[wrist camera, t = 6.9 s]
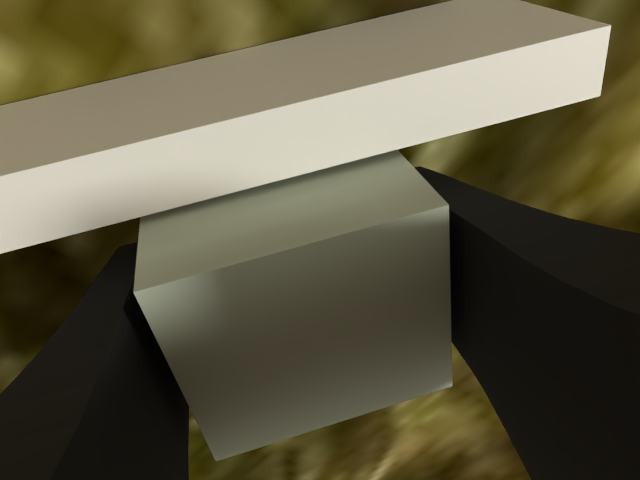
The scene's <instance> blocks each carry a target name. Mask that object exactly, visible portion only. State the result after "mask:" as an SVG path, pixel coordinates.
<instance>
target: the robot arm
mask: <svg viewBox="0 0 640 480" xmlns="http://www.w3.org/2000/svg"><path fill="white" fill-rule="evenodd" d="M415 169H416V170H417V171H418V172H419V173H420V175H421V176H422V177H423V178H424V179H425V180H426V181H427V182H428V183H429V184H430V185H431V186H432V187H433V188H434V189H435V191H436V192H437V193H438V194H439V195H440V196H441V197H442V198H443V199H444V200H445V201H446V202H447V203H448V204H449V235H450V289H451V341H452V343H453V344H454V346H455V347H456V348H457V350H458V351H459V353H460V354H461V356H462V357H463V358H464V360H465V361H466V363H467V364H468V366H469V367H470V369H471V370H472V372H473V373H474V375H475V376H476V378H477V380H478V381H479V383H480V384H481V386H482V387H483V389H484V391H485V393H486V395H487V396H488V398H489V400H490V402H491V404H492V406H493V407H494V409H495V411H496V413H497V415H498V417H499V418H500V420H501V422H502V424H503V426H504V428H505V429H506V431H507V433H508V435H509V437H510V439H511V441H512V443H513V445H514V447H515V449H516V450H517V452H518V454H519V456H520V458H521V460H522V462H523V464H524V466H525V468H526V470H527V472H528V474H529V475H530V477H531V479H532V480H640V234H639V233H633V232H628V231H623V230H617V229H612V228H608V227H603V226H599V225H595V224H591V223H586V222H582V221H578V220H574V219H570V218H566V217H562V216H559V215H555V214H552V213H548V212H545V211H542V210H539V209H536V208H532V207H529V206H526V205H523V204H520V203H517V202H514V201H511V200H508V199H505V198H503V197H500V196H497V195H494V194H492V193H489V192H487V191H484V190H481V189H479V188H476V187H474V186H471V185H468V184H466V183H463V182H461V181H458V180H456V179H453V178H451V177H448V176H446V175H443V174H440V173H438V172H435V171H432V170H429V169H426V168H423V167H415ZM137 247H138V242H135V243H132V244H128V245H124V246H120V247H119V248H118V249H117V251H116V252H115V253H114V254H113V256H112V257H111V258H110V260H109V261H108V262H107V264H106V265H105V267H104V268H103V269H102V271H101V272H100V274H99V275H98V277H97V278H96V279H95V281H94V282H93V284H92V285H91V286H90V288H89V289H88V290H87V292H86V293H85V294H84V296H83V297H82V299H81V300H80V301H79V303H78V304H77V305H76V307H75V308H74V309H73V311H72V312H71V313H70V315H69V316H68V317H67V319H66V320H65V321H64V322H63V323H62V325H61V326H60V327H59V328H58V330H57V331H56V332H55V333H54V334H53V336H52V337H51V338H50V339H49V341H48V342H47V343H46V344H45V345H44V347H43V348H42V349H41V350H40V352H39V353H38V354H37V355H36V356H35V358H34V359H33V360H32V361H31V362H30V363H29V364H28V365H27V367H26V368H25V369H24V370H23V371H22V372H21V373H20V374H19V375H18V376H17V377H16V379H15V380H14V381H13V382H12V383H11V384H10V385H9V386H8V387H7V388H6V389H5V390H4V391H3V392H2V393H1V394H0V480H189V475H188V434H189V405H188V403H187V401H186V399H185V397H184V395H183V393H182V391H181V389H180V387H179V385H178V383H177V381H176V379H175V377H174V375H173V373H172V371H171V368H170V366H169V364H168V362H167V360H166V358H165V356H164V354H163V352H162V350H161V348H160V346H159V344H158V342H157V340H156V338H155V336H154V334H153V332H152V330H151V328H150V326H149V323H148V321H147V319H146V317H145V315H144V313H143V311H142V309H141V307H140V305H139V303H138V301H137V299H136V297H135V295H134V293H133V290H134V279H135V269H136V258H137Z"/></svg>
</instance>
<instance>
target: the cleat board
mask: <svg viewBox="0 0 640 480" xmlns="http://www.w3.org/2000/svg"><path fill="white" fill-rule="evenodd" d="M610 30H611V25H609V24H605V23H601V22H598V21H594V20H590V19H587V18H583V17H579V16H575V15H572V14H568V13H564V12H561V11H557V10H553V9H550V8H546V7H542V6H538V5H535V4H531V3H527V2H524V1H520V0H451V1H447V2H443V3H438V4H434V5H430V6H425V7H421V8H417V9H412V10H408V11H404V12H400V13H395V14H391V15H387V16H382V17H378V18H374V19H370V20H365V21H361V22H357V23H352V24H348V25H344V26H340V27H335V28H331V29H327V30H322V31H318V32H314V33H310V34H305V35H301V36H297V37H292V38H288V39H284V40H280V41H275V42H271V43H267V44H262V45H258V46H254V47H250V48H245V49H241V50H237V51H232V52H228V53H224V54H220V55H215V56H211V57H207V58H202V59H198V60H194V61H189V62H185V63H181V64H177V65H172V66H168V67H164V68H159V69H155V70H151V71H147V72H142V73H138V74H134V75H129V76H125V77H121V78H117V79H112V80H108V81H104V82H99V83H95V84H91V85H87V86H82V87H78V88H74V89H69V90H65V91H61V92H57V93H52V94H48V95H44V96H39V97H35V98H31V99H27V100H22V101H18V102H14V103H9V104H5V105H1V106H0V254H1V253H5V252H9V251H13V250H17V249H20V248H24V247H28V246H32V245H36V244H39V243H43V242H47V241H51V240H55V239H58V238H62V237H66V236H70V235H74V234H77V233H81V232H85V231H89V230H93V229H97V228H100V227H104V226H108V225H112V224H116V223H119V222H123V221H127V220H131V219H135V218H138V217H142V216H146V215H150V214H154V213H157V212H161V211H165V210H169V209H173V208H176V207H180V206H184V205H188V204H192V203H195V202H199V201H203V200H207V199H211V198H214V197H218V196H222V195H226V194H230V193H233V192H237V191H241V190H245V189H249V188H253V187H256V186H260V185H264V184H268V183H272V182H275V181H279V180H283V179H287V178H291V177H294V176H298V175H302V174H306V173H310V172H313V171H317V170H321V169H325V168H329V167H332V166H336V165H340V164H344V163H348V162H351V161H355V160H359V159H363V158H367V157H370V156H374V155H378V154H382V153H386V152H389V151H393V150H397V149H401V148H405V147H409V146H412V145H416V144H420V143H424V142H428V141H431V140H435V139H439V138H443V137H447V136H450V135H454V134H458V133H462V132H466V131H469V130H473V129H477V128H481V127H485V126H488V125H492V124H496V123H500V122H504V121H507V120H511V119H515V118H519V117H523V116H526V115H530V114H534V113H538V112H542V111H545V110H549V109H553V108H557V107H561V106H564V105H568V104H572V103H576V102H580V101H584V100H587V99H591V98H595V97H599V96H600V94H601V88H602V81H603V75H604V69H605V62H606V56H607V49H608V43H609V36H610Z"/></svg>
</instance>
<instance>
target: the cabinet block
mask: <svg viewBox="0 0 640 480" xmlns="http://www.w3.org/2000/svg"><path fill="white" fill-rule="evenodd" d="M133 293H134V295H135V297H136V299H137V301H138V303H139V305H140V307H141V309H142V311H143V313H144V315H145V317H146V319H147V321H148V323H149V326H150V328H151V330H152V332H153V334H154V336H155V338H156V340H157V342H158V344H159V346H160V348H161V350H162V352H163V354H164V356H165V358H166V360H167V362H168V364H169V366H170V368H171V371H172V373H173V375H174V377H175V379H176V381H177V383H178V385H179V387H180V389H181V391H182V393H183V395H184V397H185V399H186V401H187V403H188V405H189V407H190V409H191V411H192V413H193V415H194V418H195V420H196V422H197V424H198V426H199V428H200V430H201V432H202V434H203V436H204V438H205V440H206V442H207V444H208V446H209V448H210V450H211V452H212V454H213V456H214V458H215V460H216V461H219V460H222V459H225V458H228V457H231V456H235V455H238V454H241V453H244V452H247V451H250V450H253V449H256V448H260V447H263V446H266V445H269V444H272V443H275V442H278V441H282V440H285V439H288V438H291V437H294V436H297V435H300V434H303V433H307V432H310V431H313V430H316V429H319V428H322V427H325V426H329V425H332V424H335V423H338V422H341V421H344V420H347V419H351V418H354V417H357V416H360V415H363V414H366V413H369V412H372V411H376V410H379V409H382V408H385V407H388V406H391V405H394V404H398V403H401V402H404V401H407V400H410V399H413V398H416V397H420V396H423V395H426V394H429V393H432V392H435V391H438V390H441V389H445V388H448V387H451V386H452V343H451V289H450V235H449V204H448V203H447V202H446V201H445V200H444V199H443V198H442V197H441V196H440V195H439V194H438V193H437V192H436V191H435V189H434V188H433V187H432V186H431V185H430V184H429V183H428V182H427V181H426V180H425V179H424V178H423V177H422V176H421V175H420V173H419V172H418V171H417V170H416V169H415V168H414V167H413V166H412V165H411V164H410V163H409V162H408V161H407V160H406V159H405V158H404V156H403V155H402V154H401V153H400V152H399V151H398V150H393V151H389V152H386V153H382V154H378V155H374V156H370V157H367V158H363V159H359V160H355V161H351V162H348V163H344V164H340V165H336V166H332V167H329V168H325V169H321V170H317V171H313V172H310V173H306V174H302V175H298V176H294V177H291V178H287V179H283V180H279V181H275V182H272V183H268V184H264V185H260V186H256V187H253V188H249V189H245V190H241V191H237V192H233V193H230V194H226V195H222V196H218V197H214V198H211V199H207V200H203V201H199V202H195V203H192V204H188V205H184V206H180V207H176V208H173V209H169V210H165V211H161V212H157V213H154V214H150V215H146V216H142V217H140V226H139V237H138V247H137V258H136V269H135V279H134V290H133Z"/></svg>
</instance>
